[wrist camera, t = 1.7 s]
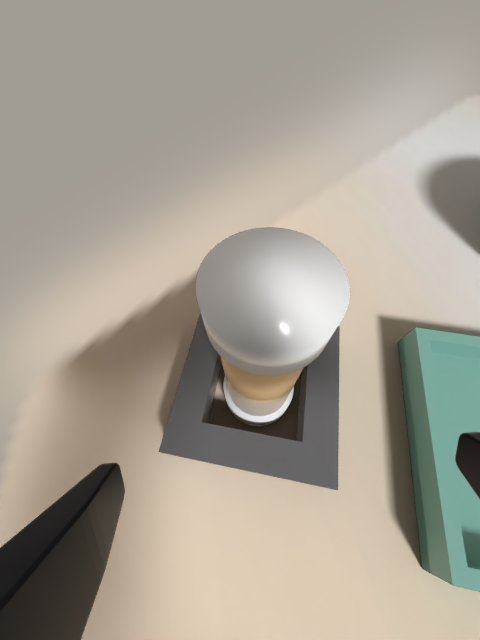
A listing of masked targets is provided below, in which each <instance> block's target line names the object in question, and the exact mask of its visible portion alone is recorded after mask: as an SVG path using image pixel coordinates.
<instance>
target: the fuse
mask: <svg viewBox="0 0 480 640" xmlns="http://www.w3.org/2000/svg"><path fill="white" fill-rule="evenodd" d="M195 288H196V297H197V301H198V305H199V308H200V312H201V315H202V319H203V322H204V326H205V329H206V333H207V335H208V338H209V340H210V342H211V344H212V346H213V347H214V349H215V350H216V351H217V352H218V354H219V355H220V356H221V361H222V365H223V369H224V374H225V377H224V383H223V388H224V394H225V398H226V401H227V404H228V407H229V409H230V411H231V412H232V414H233V415H234V416H235V417H236V418H237V419H239V420H240V421H241V422H243V423H245V424H248V425H251V426H266V425H269V424H271V423H273V422H275V421H277V420H278V419H279V418H280V417H281V416H282V415H283V414H284V412H285V411H286V409H287V407H288V406H289V404H290V402H291V400H292V397H293V392H294V384H295V383H296V381H297V379H298V377H299V375H300V373H301V371H302V370H303V368H304V367H305V366H307V365H309V364H310V363H311V362H312V361H314V360H315V359H316V358H317V357H318V356H319V355H320V353H321V352H322V351H323V349H324V348H325V346H326V345H327V343H328V341H329V340H330V338H331V336H332V335H333V333H334V332H335V330H336V328H337V327H338V325H339V324H340V322H341V320H342V319H343V317H344V315H345V313H346V311H347V308H348V304H349V300H350V285H349V280H348V276H347V274H346V271H345V269H344V267H343V265H342V264H341V262H340V260H339V259H338V258H337V257H336V255H335V254H334V253H333V252H332V251H331V250H330V249H329V248H327V247H326V246H325V245H323V244H322V243H321V242H319V241H317V240H316V239H314V238H312V237H310V236H308V235H306V234H303V233H300V232H297V231H293V230H290V229H284V228H273V227H267V228H255V229H250V230H246V231H243V232H239V233H237V234H234V235H232V236H230V237H228V238H226V239H225V240H223V241H222V242H220V243H219V244H217V245H216V246H215V247H214V248H213V249H212V250H211V251H210V252H209V253H208V254H207V256H206V257H205V258H204V260H203V262H202V263H201V265H200V268H199V270H198V273H197V277H196V286H195Z"/></svg>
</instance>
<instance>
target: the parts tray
mask: <svg viewBox="0 0 480 640" xmlns="http://www.w3.org/2000/svg"><path fill="white" fill-rule="evenodd" d="M398 346H399V355H400V365H401V374H402V383H403V393H404V402H405V412H406V421H407V431H408V440H409V449H410V459H411V468H412V478H413V487H414V497H415V506H416V515H417V525H418V534H419V544H420V553H421V563H422V569H424V570H426V571H428V572H429V573H431V574H433V575H435V576H437V577H439V578H440V579H442V580H444V581H446V582H448V583H449V584H451V585H453V586H458V587H462V588H466V589H470V590H474V591H478V592H480V499H479V497H478V496H477V495H476V493H475V492H474V490H473V489H472V487H471V486H470V484H469V483H468V482H467V480H466V479H465V477H464V476H463V474H462V473H461V472H460V470H459V468H458V467H457V464H456V461H455V456H456V450H457V445H458V439H459V436H460V435H461V434H462V433H467V432H480V337H479V336H472V335H465V334H458V333H451V332H444V331H437V330H430V329H423V328H416V327H415V328H414V329H413V330H412V331H411V332H410V333H408V334H407V335H406V336H405V337H404V338H403V339H401V340H400V341H399V342H398Z"/></svg>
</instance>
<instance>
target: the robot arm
mask: <svg viewBox="0 0 480 640" xmlns="http://www.w3.org/2000/svg"><path fill="white" fill-rule="evenodd" d="M455 461H456V464H457V467H458V468H459V470H460V472H461V473H462V474H463V476H464V477H465V479H466V480H467V482H468V483H469V484H470V486H471V487H472V489H473V490H474V492H475V493H476V495H477V496H478V497H479V499H480V432H467V433H462V434H461V435H460V436H459V439H458V445H457V450H456V456H455ZM124 494H125V488H124V483H123V479H122V474H121V470H120V467H119V465H118V464H117V463H107V464H101V465H99V466H98V467H97V468H96V469H94V470H93V471H92V472H91V473H90V474H88V475H87V476H86V477H85V478H84V479H82V480H81V481H80V482H79V483H78V484H76V485H75V486H74V487H73V488H72V489H70V490H69V491H68V492H67V493H66V494H64V495H63V496H62V497H61V498H60V499H58V500H57V501H56V502H55V503H54V504H52V505H51V506H50V507H49V508H48V509H46V510H45V511H44V512H43V513H42V514H40V515H39V516H38V517H37V518H36V519H34V520H33V521H32V522H31V523H30V524H28V525H27V526H26V527H25V528H24V529H22V530H21V531H20V532H19V533H18V534H16V535H15V536H14V537H13V538H12V539H10V540H9V541H8V542H7V543H6V544H4V545H3V546H2V547H1V548H0V640H81V637H82V634H83V632H84V629H85V626H86V623H87V620H88V617H89V615H90V612H91V609H92V606H93V603H94V600H95V598H96V595H97V592H98V589H99V586H100V583H101V580H102V577H103V574H104V571H105V568H106V565H107V561H108V557H109V554H110V550H111V546H112V542H113V538H114V534H115V530H116V527H117V523H118V519H119V515H120V511H121V507H122V503H123V499H124Z"/></svg>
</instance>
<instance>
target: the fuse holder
mask: <svg viewBox="0 0 480 640" xmlns="http://www.w3.org/2000/svg"><path fill="white" fill-rule="evenodd" d="M221 365H222V361H221V356H220V355H219V354H218V352H217V351H216V350H215V349H214V347H213V346H212V344H211V342H210V340H209V338H208V335H207V333H206V329H205V326H204V322H203V319H202V315H201V313H200V316H199V319H198V323H197V326H196V329H195V333H194V336H193V339H192V343H191V346H190V349H189V353H188V356H187V359H186V363H185V366H184V369H183V373H182V376H181V379H180V383H179V386H178V389H177V393H176V396H175V399H174V403H173V406H172V409H171V413H170V416H169V419H168V423H167V426H166V429H165V433H164V436H163V439H162V443H161V446H160V449H159V452H162V453H166V454H171V455H175V456H180V457H185V458H189V459H194V460H199V461H203V462H208V463H213V464H217V465H222V466H227V467H231V468H236V469H241V470H245V471H250V472H255V473H260V474H264V475H269V476H274V477H278V478H283V479H288V480H292V481H297V482H302V483H306V484H311V485H316V486H320V487H325V488H330V489H335V490H338V423H339V326H338V327H337V328H336V330H335V332H334V333H333V335H332V336H331V338H330V340H329V341H328V343H327V345H326V346H325V348H324V349H323V351H322V352H321V353H320V355H319V356H318V357H317V358H316V359H315V360H314V361H312V362H311V363H310V364H309V365H307V366H305V367H304V368H303V370H302V373H301V386H300V398H299V411H298V424H297V436H296V441H295V440H290V439H285V438H280V437H275V436H270V435H264V434H259V433H254V432H249V431H244V430H239V429H234V428H229V427H224V426H219V425H214V424H209V423H208V421H209V417H210V412H211V408H212V404H213V399H214V395H215V391H216V386H217V382H218V378H219V373H220V369H221Z"/></svg>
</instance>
